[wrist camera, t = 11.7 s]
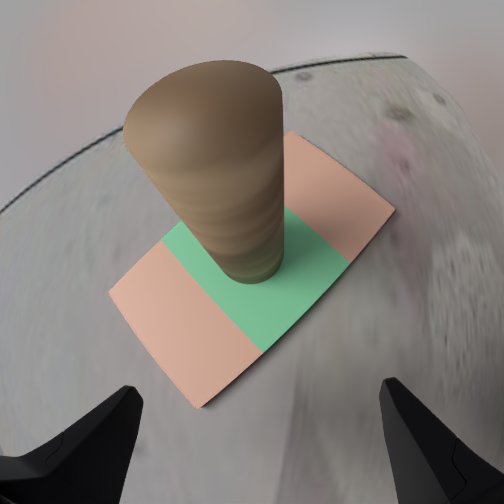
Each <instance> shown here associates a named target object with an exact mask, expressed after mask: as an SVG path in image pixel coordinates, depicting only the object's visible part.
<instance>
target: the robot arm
mask: <svg viewBox="0 0 504 504" xmlns="http://www.w3.org/2000/svg"><path fill="white" fill-rule="evenodd" d="M379 400H380V406H381V414H382V421H383V430H384V436H385V441H386V445H387V449H388V454H389V458H390V463H391V467H392V472H393V477H394V482H395V487H396V492H397V498H398V503H399V504H504V474H503V473H501V472H500V471H499V470H497V469H496V468H494V467H493V466H492V465H490V464H489V463H487V462H486V461H485V460H483V459H482V458H481V457H479V456H478V455H477V454H475V453H474V452H473V451H472V450H471V449H470V448H468V447H467V446H466V445H465V444H464V443H463V442H462V441H461V440H460V439H459V438H457V436H456V435H455V434H454V433H453V432H452V431H451V430H450V429H449V428H448V427H447V426H445V425H444V424H443V423H442V422H441V421H440V420H439V419H438V418H437V417H436V416H435V415H434V414H433V413H432V412H431V411H430V410H429V409H428V408H427V407H426V406H425V405H424V404H423V403H422V402H421V401H420V400H419V399H418V398H416V397H415V396H414V395H413V394H412V393H411V392H410V391H409V390H408V389H407V388H406V387H405V386H404V385H403V384H402V383H401V382H400V381H399V380H398V379H397V378H395V377H391V378H387V379H384V380H383V382H382V386H381V390H380V393H379ZM142 409H143V399H142V397H141V396H140V394H139V393H138V391H137V390H136V388H135V387H133V386H128V385H125V386H123V387H122V388H120V389H119V390H118V391H116V392H115V393H114V394H113V395H111V396H110V397H109V398H107V399H106V400H105V401H103V402H102V403H101V404H99V405H98V406H97V407H95V408H94V409H93V410H91V411H90V412H89V413H87V414H86V415H85V416H83V417H82V418H81V419H79V420H78V421H77V422H75V423H74V424H72V425H71V426H70V427H68V428H67V429H66V430H64V431H63V432H61V433H60V434H59V435H57V436H56V437H54V438H53V439H51V440H50V441H48V442H47V443H45V444H43V445H42V446H40V447H38V448H36V449H34V450H33V451H31V452H29V453H27V454H25V455H23V456H19V457H9V456H0V504H119V502H120V498H121V494H122V490H123V486H124V482H125V478H126V474H127V471H128V467H129V463H130V460H131V456H132V453H133V449H134V446H135V442H136V439H137V435H138V431H139V425H140V420H141V414H142Z"/></svg>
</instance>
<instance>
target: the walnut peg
mask: <svg viewBox="0 0 504 504" xmlns="http://www.w3.org/2000/svg"><path fill="white" fill-rule="evenodd" d="M123 139H124V143H125V145H126V147H127V149H128V151H129V152H130V153H131V155H132V156H133V157H134V159H135V160H136V161H137V163H138V164H139V165H140V167H141V168H142V169H143V171H144V172H145V173H146V175H147V176H148V177H149V179H150V180H151V181H152V183H153V184H154V185H155V187H156V188H157V189H158V190H159V192H160V193H161V194H162V196H163V197H164V198H165V200H166V201H167V202H168V203H169V205H170V206H171V207H172V209H173V210H174V211H175V212H176V214H177V215H178V216H179V217H180V219H181V220H182V221H183V223H184V224H185V225H186V226H187V228H188V229H189V230H190V231H191V233H192V234H193V235H194V236H195V238H196V239H197V240H198V241H199V243H200V244H201V245H202V246H203V248H204V249H205V250H206V251H207V252H208V254H209V255H210V256H211V257H212V259H213V260H214V261H215V262H216V263H217V265H218V266H219V267H220V268H221V270H222V271H223V272H224V273H225V274H226V275H227V276H228V277H229V278H230V279H232V280H234V281H236V282H238V283H242V284H257V283H261V282H263V281H265V280H267V279H269V278H270V277H272V276H273V275H274V274H275V273H276V272H277V270H278V269H279V267H280V266H281V264H282V261H283V257H284V136H283V103H282V91H281V87H280V85H279V83H278V81H277V80H276V79H275V78H274V77H273V76H272V75H271V74H270V73H269V72H267V71H266V70H264V69H262V68H260V67H258V66H256V65H253V64H250V63H246V62H241V61H230V60H229V61H228V60H222V61H210V62H204V63H199V64H195V65H192V66H188V67H185V68H183V69H180V70H178V71H175V72H173V73H171V74H169V75H167V76H166V77H164V78H162V79H161V80H159V81H158V82H156V83H155V84H154V85H152V86H151V87H149V88H148V89H147V90H146V91H145V92H144V93H143V94H142V95H141V96H140V97H139V98H138V99H137V100H136V102H135V103H134V104H133V106H132V107H131V109H130V110H129V112H128V114H127V117H126V119H125V122H124V126H123Z"/></svg>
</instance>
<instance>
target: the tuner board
mask: <svg viewBox="0 0 504 504" xmlns="http://www.w3.org/2000/svg"><path fill="white" fill-rule="evenodd" d="M394 210H395V208H394V207H393V206H391V205H390V204H389V203H388V202H387V201H386V200H384V199H383V198H382V197H381V196H380V195H379V194H377V193H376V192H375V191H374V190H373V189H371V188H370V187H369V186H368V185H366V184H365V183H364V182H363V181H361V180H360V179H359V178H358V177H356V176H355V175H354V174H352V173H351V172H350V171H348V170H347V169H346V168H344V167H343V166H342V165H340V164H339V163H338V162H336V161H335V160H334V159H332V158H331V157H330V156H328V155H327V154H325V153H324V152H322V151H321V150H320V149H318V148H317V147H315V146H314V145H312V144H311V143H309V142H308V141H306V140H305V139H303V138H302V137H300V136H299V135H297V134H296V133H294V132H293V131H290V132H288V133H287V134H286V135H284V257H283V261H282V264H281V266H280V267H279V269H278V270H277V272H276V273H275V274H274V275H273V276H272V277H270V278H269V279H267V280H265V281H263V282H261V283H257V284H242V283H238V282H236V281H234V280H232V279H230V278H229V277H228V276H227V275H226V274H225V273H224V272H223V271H222V270H221V268H220V267H219V266H218V265H217V263H216V262H215V261H214V260H213V259H212V257H211V256H210V255H209V254H208V252H207V251H206V250H205V249H204V248H203V246H202V245H201V244H200V243H199V241H198V240H197V239H196V238H195V236H194V235H193V234H192V233H191V231H190V230H189V229H188V228H187V226H186V225H185V224H184V223H183V221H182V220H181V221H180V222H179V223H178V224H177V225H176V226H175V227H174V228H173V229H172V230H171V231H169V232H168V233H167V234H166V235H165V236H164V237H163V238H162V239H161V240H160V241H159V242H158V243H157V244H156V245H155V246H154V247H153V248H151V249H150V250H149V251H148V252H147V253H146V254H145V255H144V256H143V257H142V258H141V259H140V260H139V261H138V262H137V263H136V264H135V265H134V266H133V267H132V268H131V269H130V270H129V271H128V272H127V273H126V274H125V275H124V276H123V277H122V278H121V279H120V280H119V281H118V282H117V283H116V285H115V286H114V287H113V288H112V289H111V290H110V291H109V292H108V293H109V294H110V296H111V298H112V299H113V301H114V302H115V304H116V305H117V307H118V309H119V310H120V312H121V313H122V315H123V316H124V318H125V319H126V321H127V322H128V324H129V325H130V327H131V328H132V329H133V331H134V332H135V334H136V335H137V336H138V338H139V339H140V341H141V342H142V343H143V345H144V346H145V347H146V349H147V350H148V351H149V353H150V354H151V355H152V357H153V358H154V359H155V361H156V362H157V363H158V364H159V366H160V367H161V368H162V369H163V371H164V372H165V373H166V374H167V376H168V377H169V378H170V379H171V380H172V382H173V383H174V384H175V385H176V386H177V387H178V389H179V390H180V391H181V392H182V393H183V394H184V395H185V397H186V398H187V399H188V400H189V401H190V402H191V403H192V404H193V405H194V406H195V408H196V409H197V410H198V409H199V408H201V407H202V406H203V405H204V404H206V403H207V402H208V401H209V400H210V399H212V398H213V397H214V396H215V395H216V394H218V393H219V392H220V391H221V390H222V389H224V388H225V387H226V386H227V385H228V384H229V383H231V382H232V381H233V380H234V379H235V378H236V377H237V376H239V375H240V374H241V373H242V372H243V371H244V370H245V369H246V368H248V367H249V366H250V365H251V364H252V363H253V362H254V361H255V360H256V359H257V358H259V357H260V356H261V355H262V354H263V353H264V352H265V351H266V350H267V349H268V348H269V347H270V346H271V345H272V344H274V343H275V342H276V341H277V340H278V339H279V338H280V337H281V336H282V335H283V334H284V333H285V332H286V331H287V330H288V329H289V328H290V327H291V326H292V325H293V324H294V323H295V322H296V321H297V320H298V319H299V318H300V317H301V316H302V315H303V314H304V313H305V312H306V311H307V310H308V309H309V308H310V307H311V306H312V305H313V304H314V303H315V302H316V301H317V299H318V298H319V297H320V296H321V295H322V294H323V293H324V292H325V291H326V290H327V289H328V288H329V287H330V286H331V285H332V283H333V282H334V281H335V280H336V279H337V278H338V277H339V276H340V275H341V274H342V272H343V271H344V270H345V269H346V268H347V267H348V266H349V265H350V263H351V262H352V261H353V260H354V259H355V258H356V257H357V255H358V254H359V253H360V252H361V251H362V250H363V248H364V247H365V246H366V245H367V244H368V243H369V241H370V240H371V239H372V238H373V237H374V235H375V234H376V233H377V232H378V230H379V229H380V228H381V227H382V226H383V224H384V223H385V222H386V221H387V219H388V218H389V217H390V216H391V214H392V213H393V212H394Z"/></svg>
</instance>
